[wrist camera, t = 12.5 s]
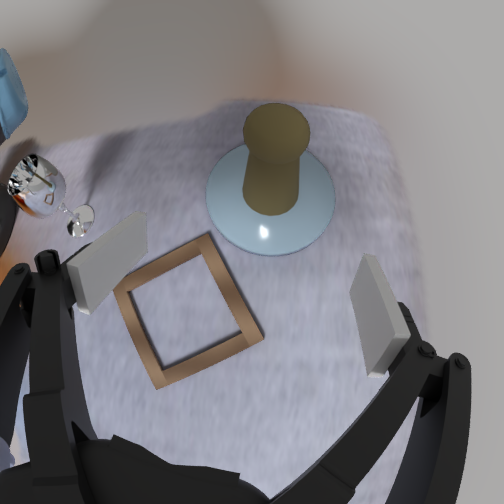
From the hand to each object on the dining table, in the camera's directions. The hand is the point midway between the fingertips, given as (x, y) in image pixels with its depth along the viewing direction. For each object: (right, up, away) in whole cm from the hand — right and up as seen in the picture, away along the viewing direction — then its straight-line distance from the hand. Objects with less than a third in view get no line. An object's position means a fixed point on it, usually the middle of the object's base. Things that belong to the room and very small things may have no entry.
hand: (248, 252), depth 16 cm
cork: (+2, +6, +13) cm, 15 cm away
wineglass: (-21, +4, +14) cm, 26 cm away
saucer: (+2, +6, +14) cm, 16 cm away
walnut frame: (-7, -6, +10) cm, 14 cm away
